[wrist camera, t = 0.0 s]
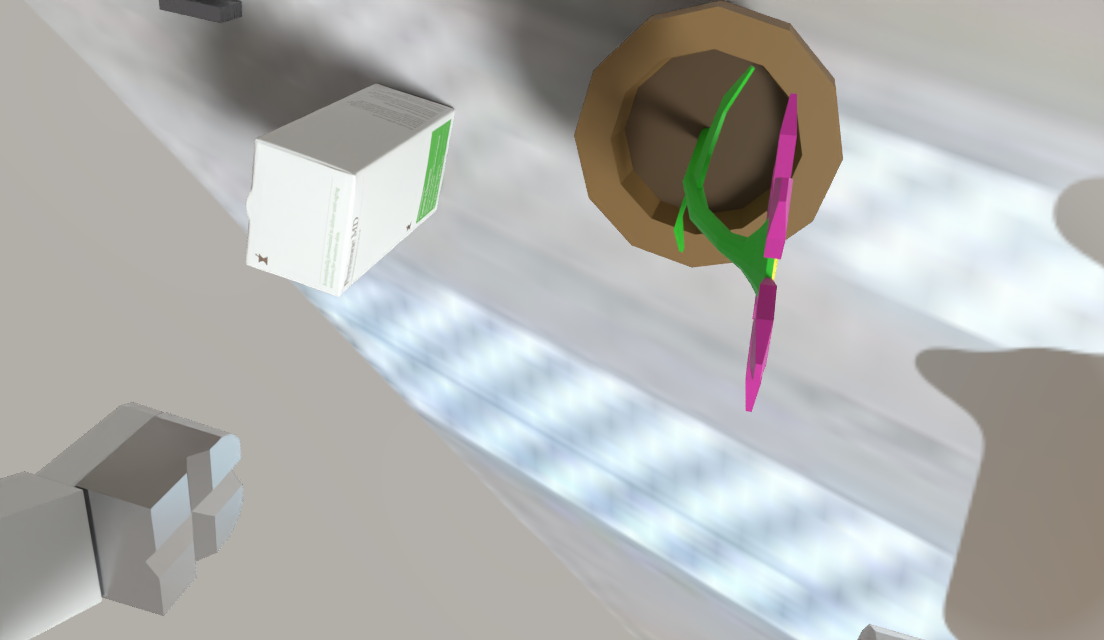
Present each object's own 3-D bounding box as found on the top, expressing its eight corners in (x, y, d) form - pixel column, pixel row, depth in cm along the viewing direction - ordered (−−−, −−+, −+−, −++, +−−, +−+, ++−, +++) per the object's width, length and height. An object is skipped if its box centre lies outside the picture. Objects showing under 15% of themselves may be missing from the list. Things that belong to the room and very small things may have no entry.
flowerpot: (817, 215, 57) (828, 516, 31) (604, 194, 60) (457, 451, 34) (857, -15, 50) (914, 129, 24) (614, -27, 53) (439, 92, 27)
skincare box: (437, 211, 64) (342, 306, 51) (356, 183, 64) (240, 269, 51) (458, 103, 59) (359, 177, 46) (370, 74, 60) (247, 138, 47)
